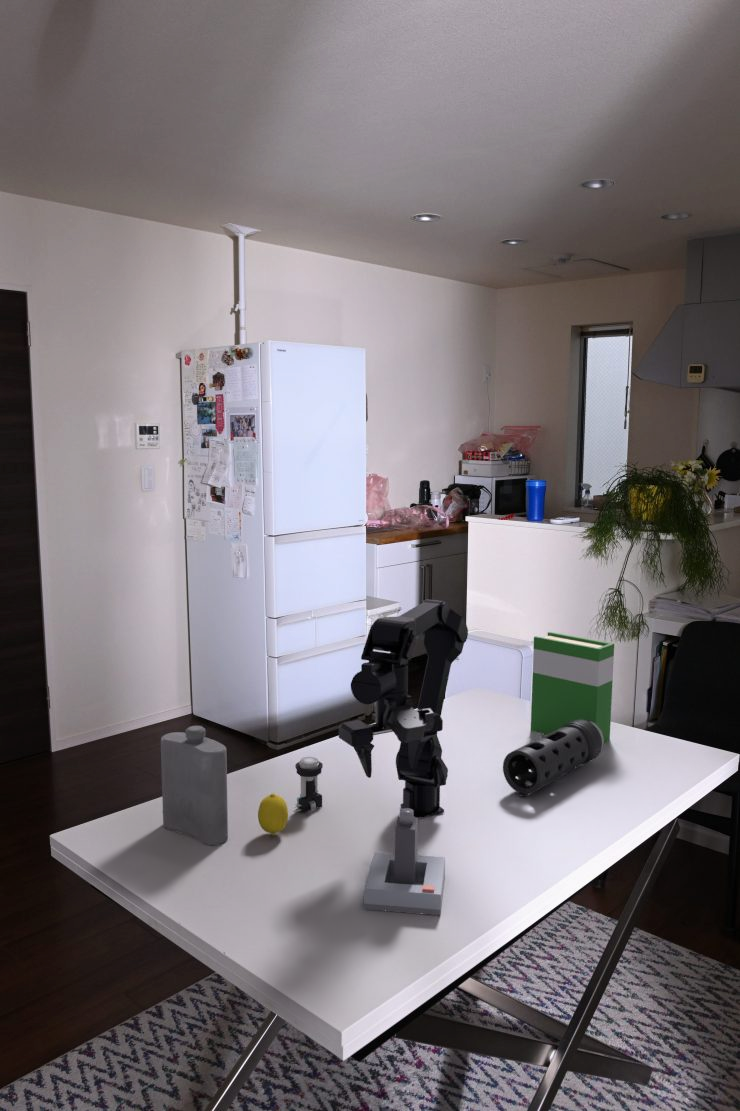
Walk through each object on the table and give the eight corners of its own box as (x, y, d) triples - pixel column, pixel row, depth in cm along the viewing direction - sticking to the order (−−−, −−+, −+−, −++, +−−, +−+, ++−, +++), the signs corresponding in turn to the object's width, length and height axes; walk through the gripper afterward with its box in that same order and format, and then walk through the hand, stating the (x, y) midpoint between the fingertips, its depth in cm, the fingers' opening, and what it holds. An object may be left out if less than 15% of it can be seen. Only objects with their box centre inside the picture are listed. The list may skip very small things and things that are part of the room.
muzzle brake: (500, 792, 182) (501, 744, 181) (567, 755, 203) (569, 712, 201) (540, 805, 176) (542, 756, 174) (605, 766, 197) (608, 721, 195)
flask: (236, 836, 161) (235, 732, 158) (213, 849, 157) (211, 741, 154) (181, 815, 170) (178, 716, 167) (157, 826, 165) (154, 724, 162)
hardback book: (530, 730, 219) (533, 636, 216) (546, 723, 225) (549, 631, 221) (594, 748, 207) (599, 649, 204) (609, 740, 213) (614, 643, 209)
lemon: (275, 844, 158) (275, 802, 157) (252, 836, 161) (251, 795, 160) (294, 832, 163) (294, 791, 162) (270, 825, 166) (270, 785, 165)
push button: (301, 818, 169) (300, 769, 167) (284, 809, 173) (284, 761, 171) (328, 809, 173) (328, 760, 172) (311, 800, 177) (311, 753, 176)
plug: (397, 879, 145) (398, 804, 143) (416, 880, 144) (417, 805, 142) (394, 893, 140) (395, 816, 138) (414, 894, 140) (415, 817, 138)
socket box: (374, 871, 149) (374, 849, 148) (444, 876, 147) (445, 855, 147) (363, 909, 137) (364, 886, 137) (440, 915, 136) (441, 892, 135)
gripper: (367, 709, 145) (367, 799, 147) (460, 693, 154) (459, 778, 156) (337, 691, 154) (337, 776, 157) (426, 677, 163) (425, 757, 166)
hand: (390, 772), depth 158 cm, fingers open, 9 cm apart
